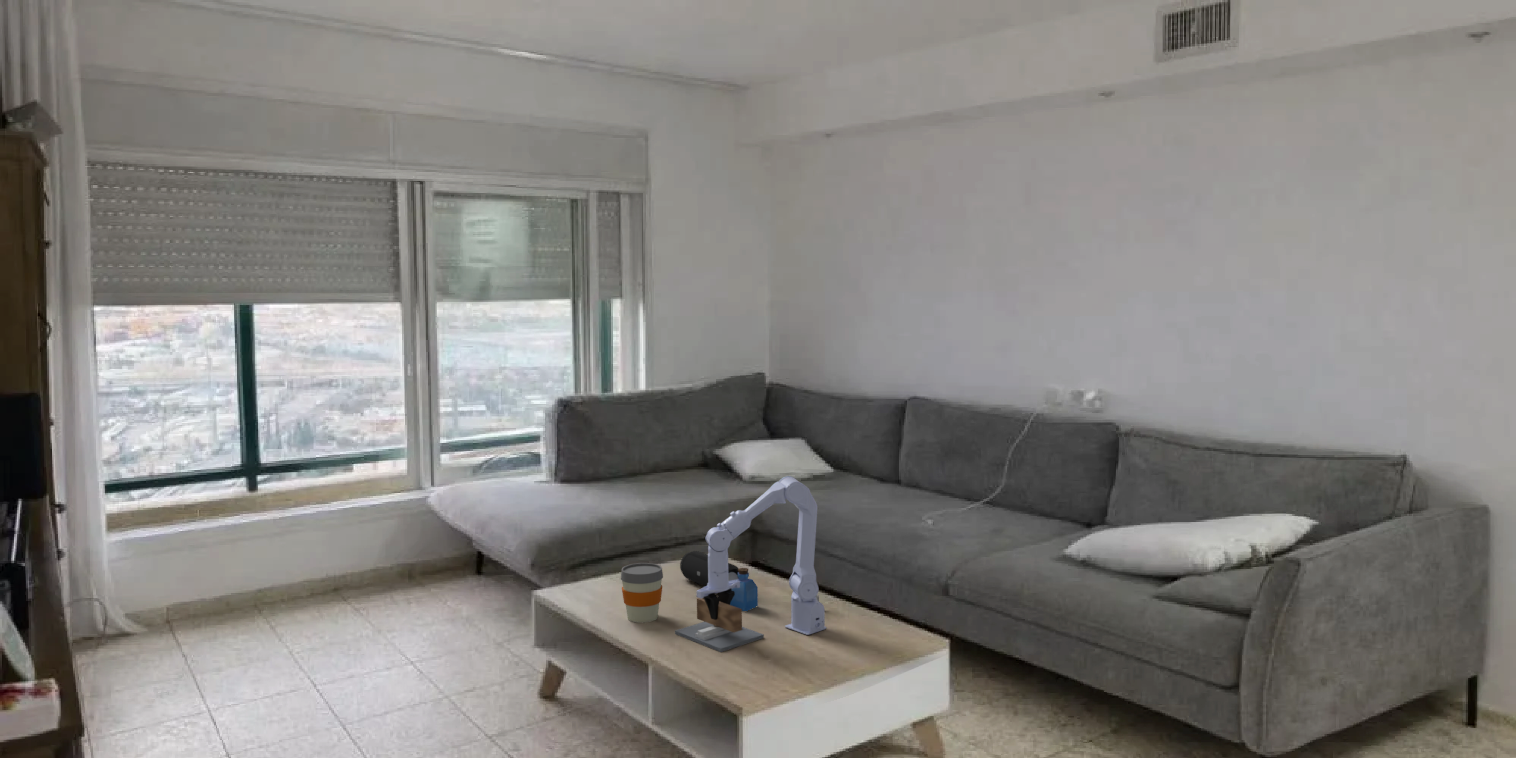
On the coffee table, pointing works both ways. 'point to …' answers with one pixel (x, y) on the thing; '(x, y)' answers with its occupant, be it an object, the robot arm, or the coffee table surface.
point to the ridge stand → (718, 636)
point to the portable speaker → (701, 568)
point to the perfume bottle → (745, 592)
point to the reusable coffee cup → (642, 591)
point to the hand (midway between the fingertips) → (718, 617)
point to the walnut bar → (721, 615)
